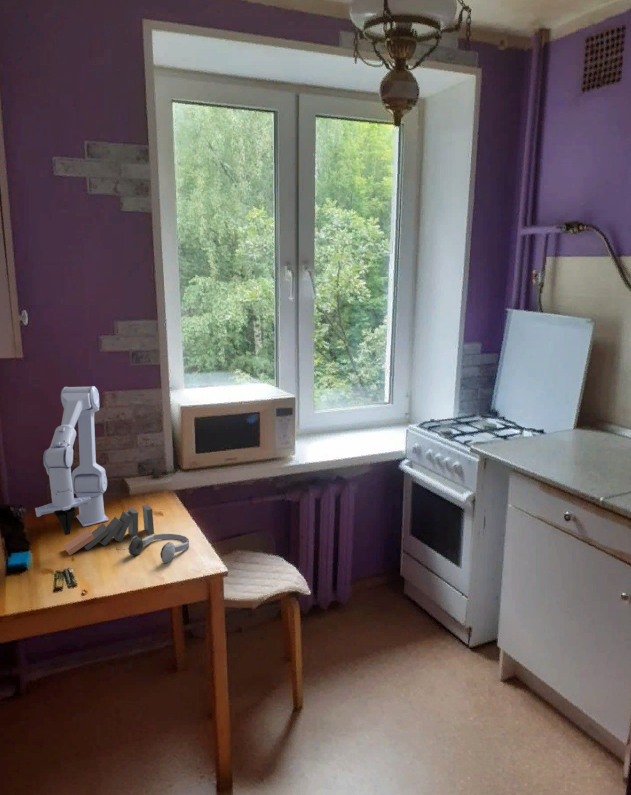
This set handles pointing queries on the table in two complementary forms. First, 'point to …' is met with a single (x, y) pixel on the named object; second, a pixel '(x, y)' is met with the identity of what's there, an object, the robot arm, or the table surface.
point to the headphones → (166, 551)
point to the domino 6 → (148, 519)
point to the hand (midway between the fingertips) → (66, 533)
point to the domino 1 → (79, 542)
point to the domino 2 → (97, 536)
